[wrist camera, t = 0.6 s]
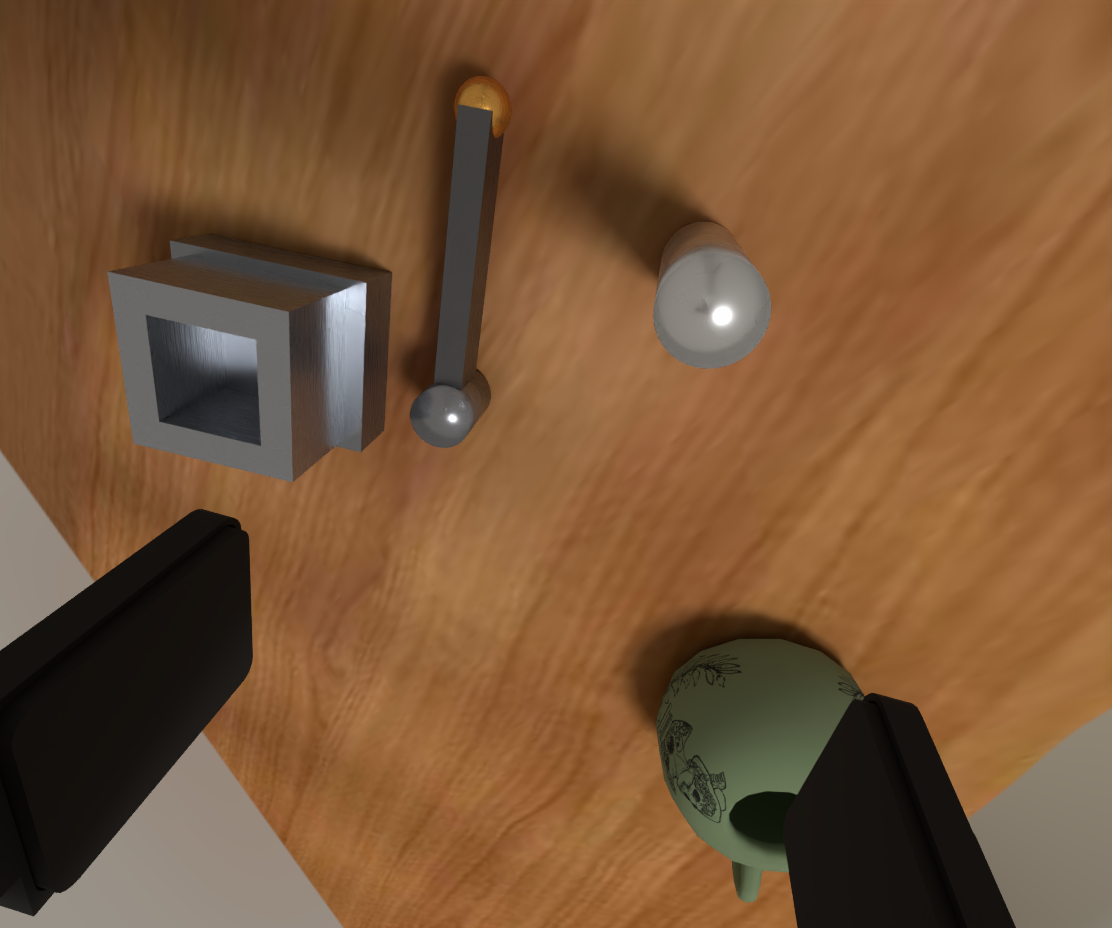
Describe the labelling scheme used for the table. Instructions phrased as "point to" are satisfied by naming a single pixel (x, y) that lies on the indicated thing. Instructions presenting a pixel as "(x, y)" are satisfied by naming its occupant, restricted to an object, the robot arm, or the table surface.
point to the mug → (748, 744)
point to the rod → (709, 298)
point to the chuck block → (252, 354)
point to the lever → (465, 266)
